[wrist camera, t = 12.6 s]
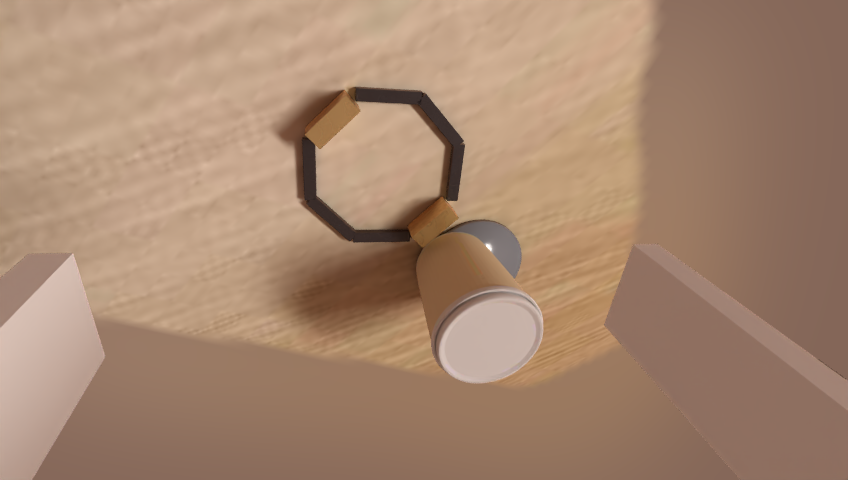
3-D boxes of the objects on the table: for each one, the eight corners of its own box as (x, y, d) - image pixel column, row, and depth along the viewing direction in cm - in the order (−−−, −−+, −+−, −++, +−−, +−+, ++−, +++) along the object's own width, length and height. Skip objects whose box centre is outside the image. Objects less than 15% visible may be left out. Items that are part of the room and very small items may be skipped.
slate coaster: (423, 303, 47) (425, 306, 47) (433, 220, 43) (434, 222, 42) (509, 299, 50) (511, 302, 49) (527, 219, 45) (529, 221, 44)
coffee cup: (469, 310, 48) (509, 394, 38) (392, 288, 45) (414, 374, 34) (511, 240, 45) (568, 311, 35) (432, 210, 42) (470, 280, 31)
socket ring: (306, 240, 41) (305, 253, 39) (300, 83, 34) (299, 88, 32) (450, 237, 44) (457, 250, 42) (469, 93, 38) (478, 99, 35)
